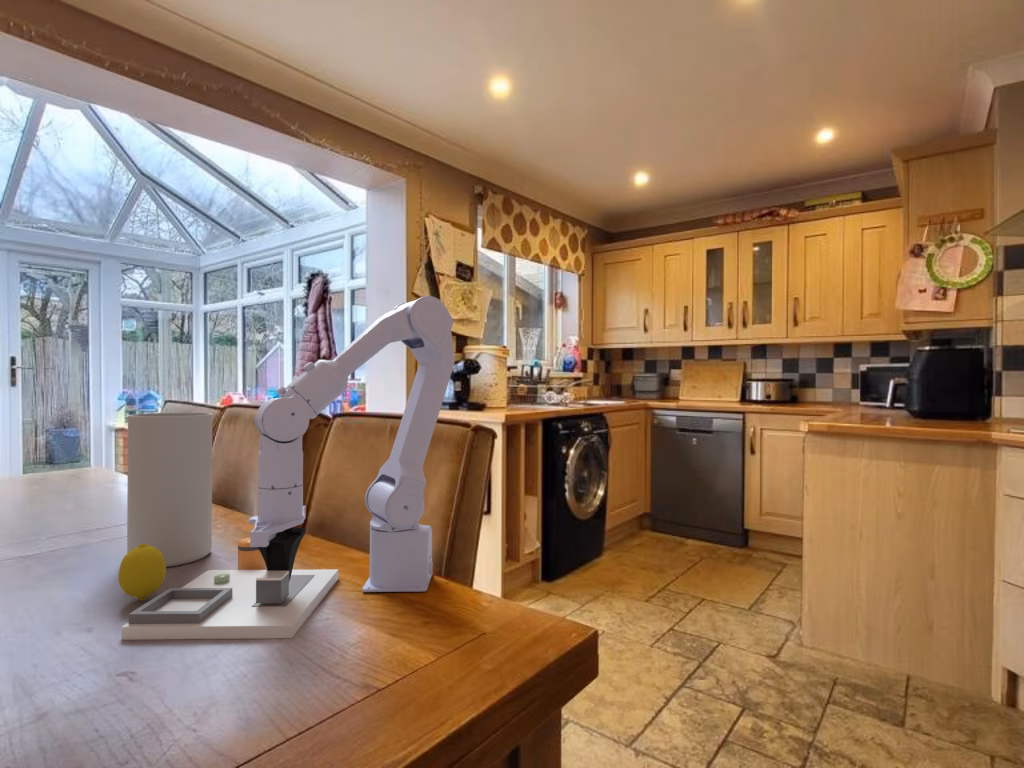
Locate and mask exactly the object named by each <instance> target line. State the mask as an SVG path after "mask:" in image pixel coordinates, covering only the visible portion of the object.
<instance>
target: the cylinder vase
mask: <svg viewBox="0 0 1024 768" xmlns="http://www.w3.org/2000/svg"><path fill="white" fill-rule="evenodd" d="M126 495H127V504H126V506H127V508H126V509H127V510H126V511H127V512H126V513H127V514H126V516H127V518H126V519H127V521H126V524H127V526H126V527H127V529H126V532H127V533H126V535H127V536H126V538H127V539H126V540H127V541H126V542H127V543H126V545H127V546H126V554H127V553H128V552H129V551H131V550H132V549H134V548H136V547H138V546H139V545H140V544H142V543H146V544H147V545H149V546H153V547H155V548H157V549H158V550H160V551H161V553H162V554H163V556H164V559H165V563H166V568H170V567H176V566H181V565H182V566H183V565H186V564H190V563H193V562H196V561H199V560H201V559H203V558H204V557H207V556H208V555H209V553H211V551H212V546H213V545H212V544H213V543H212V540H213V539H212V538H213V537H212V533H213V531H212V529H213V528H212V525H213V524H212V523H213V519H212V518H213V517H212V516H213V515H212V513H213V505H212V504H213V413H211V412H155V413H153V412H152V413H135V414H128V415H127V494H126Z"/></svg>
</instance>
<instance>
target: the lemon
mask: <svg viewBox="0 0 1024 768" xmlns="http://www.w3.org/2000/svg"><path fill="white" fill-rule="evenodd" d="M166 573H167V567H166V563H165V559H164V556H163V554H162V553H161V551H160V550H158V549H157V548H155V547H153V546H149V545H147V544H146V543H142V544H140V545H139V546H138V547H136V548H134V549H132V550H131V551H129V552H128V553H127V552H126V554H125V555H124V556H123V558H122V560H121V562H120V565H119V568H118V584H119V587H120V589H121V590H122V591H123V593H124V594H125V595H128V596H129V597H133V598H135V599H138V600H139V601H145V600H147V598H149V596H150V595H152V594H154V593H155V592H156V591H157V590H159V588H161V586H162V585H163V583H164V581H165V578H166V575H167V574H166Z"/></svg>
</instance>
